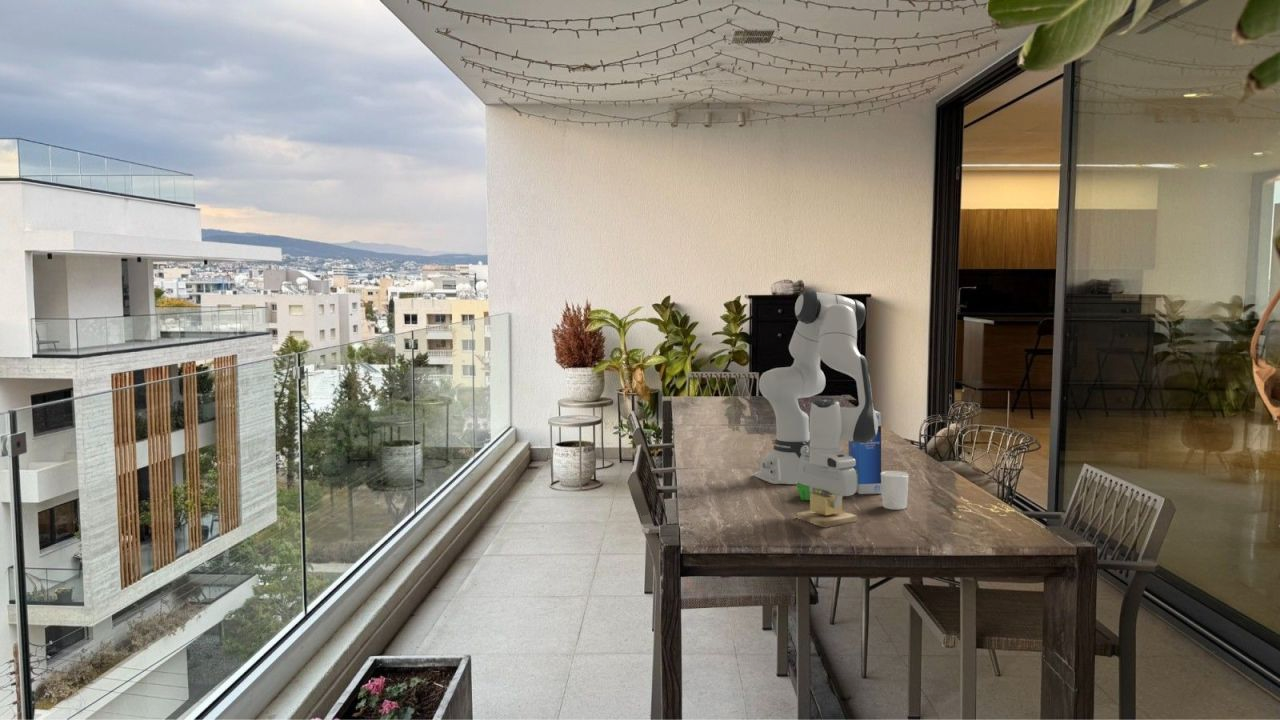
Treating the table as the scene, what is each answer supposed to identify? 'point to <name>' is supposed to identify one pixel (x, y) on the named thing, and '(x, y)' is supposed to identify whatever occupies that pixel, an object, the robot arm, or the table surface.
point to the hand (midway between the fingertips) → (826, 505)
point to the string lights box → (868, 463)
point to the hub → (823, 503)
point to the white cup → (894, 489)
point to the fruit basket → (804, 491)
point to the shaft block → (826, 517)
